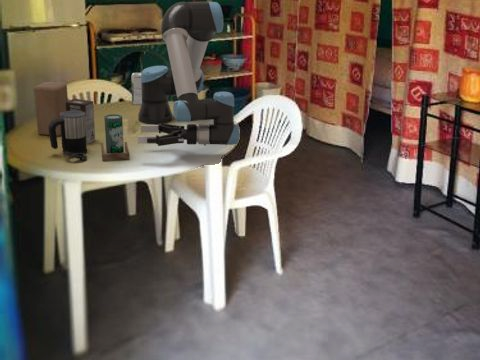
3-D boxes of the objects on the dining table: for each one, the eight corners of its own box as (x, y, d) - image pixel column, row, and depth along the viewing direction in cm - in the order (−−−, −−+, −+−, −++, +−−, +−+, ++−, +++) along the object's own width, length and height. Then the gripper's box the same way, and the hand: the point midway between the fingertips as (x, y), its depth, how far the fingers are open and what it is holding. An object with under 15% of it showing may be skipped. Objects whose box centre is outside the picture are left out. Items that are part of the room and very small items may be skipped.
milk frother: (76, 146, 238) (74, 108, 233) (105, 154, 230) (103, 116, 224) (46, 155, 227) (43, 116, 222) (75, 164, 219) (72, 124, 213)
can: (115, 159, 225) (113, 119, 219) (103, 156, 228) (101, 116, 222) (127, 154, 230) (125, 116, 224) (114, 151, 233) (112, 113, 227)
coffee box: (67, 141, 243) (64, 101, 237) (76, 137, 248) (73, 98, 242) (87, 144, 240) (84, 104, 234) (96, 139, 246) (93, 100, 240)
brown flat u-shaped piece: (126, 148, 237) (126, 141, 236) (129, 159, 225) (129, 153, 224) (101, 149, 235) (101, 143, 234) (102, 161, 223) (102, 154, 222)
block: (59, 136, 248) (55, 88, 241) (37, 134, 250) (32, 86, 242) (71, 130, 257) (67, 82, 250) (49, 128, 259) (44, 81, 251)
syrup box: (132, 101, 303) (131, 72, 298) (144, 101, 304) (144, 72, 298) (131, 104, 298) (130, 75, 293) (144, 104, 298) (143, 75, 293)
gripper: (197, 155, 217) (136, 154, 216) (197, 134, 241) (142, 133, 239) (197, 134, 215) (136, 134, 213) (197, 115, 238) (141, 115, 236)
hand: (139, 134), depth 226 cm, fingers open, 13 cm apart
